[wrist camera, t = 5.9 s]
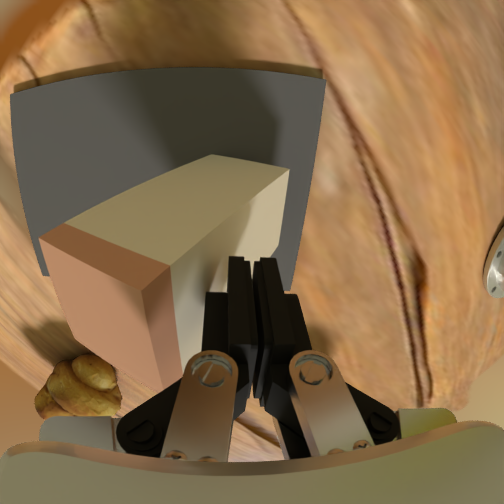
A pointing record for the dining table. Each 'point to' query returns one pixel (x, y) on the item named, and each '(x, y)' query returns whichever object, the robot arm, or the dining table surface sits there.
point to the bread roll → (80, 389)
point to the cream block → (162, 260)
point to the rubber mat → (161, 138)
